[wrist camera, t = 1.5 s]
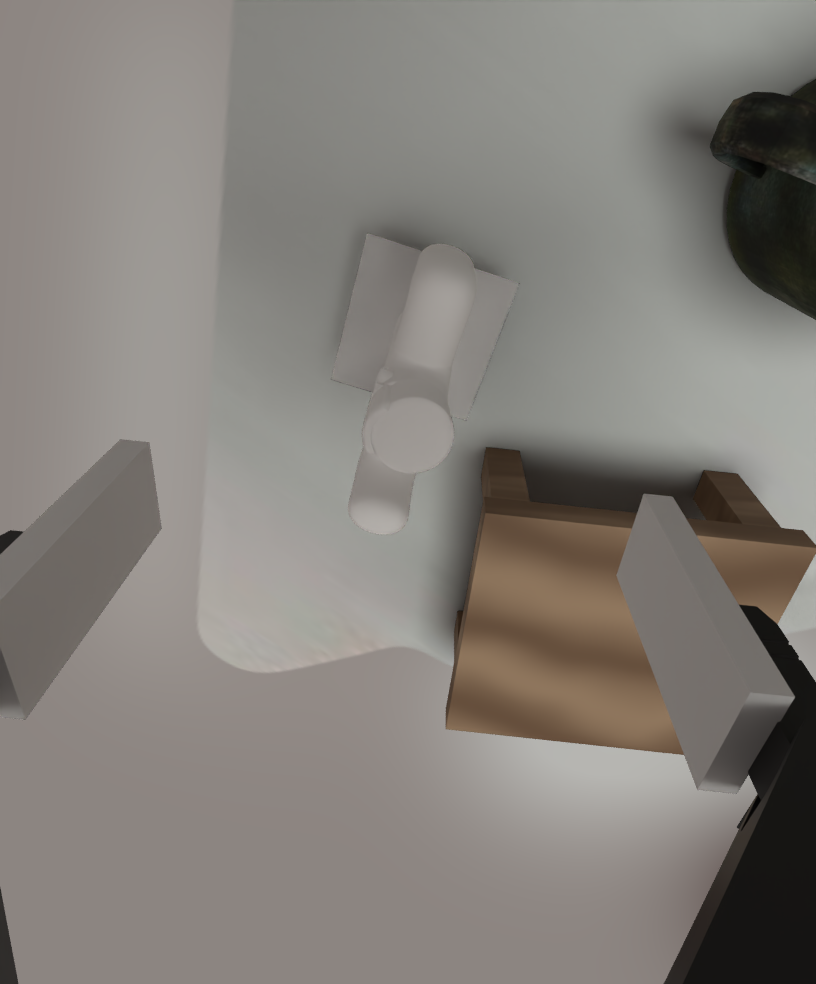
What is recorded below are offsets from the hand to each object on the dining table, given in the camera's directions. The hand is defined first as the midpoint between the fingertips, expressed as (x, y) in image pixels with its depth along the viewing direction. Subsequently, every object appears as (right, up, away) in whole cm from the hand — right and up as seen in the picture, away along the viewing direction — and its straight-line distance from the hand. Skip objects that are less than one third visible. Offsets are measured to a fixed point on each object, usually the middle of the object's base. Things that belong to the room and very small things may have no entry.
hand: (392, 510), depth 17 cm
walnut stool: (+12, -4, +24) cm, 27 cm away
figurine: (+1, +10, +16) cm, 19 cm away
